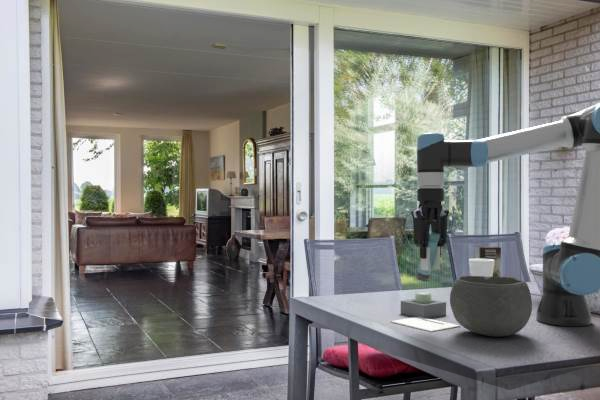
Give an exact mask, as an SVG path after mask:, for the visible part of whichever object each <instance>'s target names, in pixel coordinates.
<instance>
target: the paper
mask: <svg viewBox="0 0 600 400" xmlns="http://www.w3.org/2000/svg"><path fill="white" fill-rule="evenodd" d="M390 323H393V324H397V325H401V326H406V327H410V328H412V329H418V330H422V331H425V332H430V333H433V332H437V331H438V332H439V331H444V330H449V329H454V328H460V327H461V325H460V324H455V323H449V322H446V321H440V320H436V319H432V318H424V317H415V316H412V317H409V318H408V317H407V318H401V319H396V320H390Z"/></svg>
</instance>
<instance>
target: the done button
mask: <svg viewBox="0 0 600 400" xmlns="http://www.w3.org/2000/svg"><path fill="white" fill-rule="evenodd" d="M414 295H415V297H414V299H415V302H417V303H422V304H426V303H431V300H432V293H431V292H421V291H420V292H419V291H418V292H415V294H414Z"/></svg>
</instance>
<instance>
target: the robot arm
mask: <svg viewBox="0 0 600 400" xmlns="http://www.w3.org/2000/svg"><path fill="white" fill-rule="evenodd" d="M561 147H566V148H568V149H571V148H578V147H582V149H583V150H584V151H585V155H584V156H585V157H584V160H583V161H584V162H583V164H582V165H583V166H582V169H581V175H580V179H579V184H578V189H577V195H576V199H575V203H574V208H573V214H572V218H571V223H570V226H569V233H568V236H567V237H566V238H564V239H562V240H561V242H560V243H552V244H546V245H544V246H543V249H542V254H541V257H542V296H541V298H540V301H539V304H538V307H537V310H536V314H535V315H536V316H535V317H536V321H538V322H541V323H544V324H547V325H554V326H559V327H560V326H563V327H586V326H590V325H592V314H591V311H590V308H589V305H588V302H587V299H586V296H590V295H594V294H595V293H597V292H599V291H600V101H599V102H598V103H596V104H593V105H591V106H589V107H587V108H585V109H582V110H580V111H578V112H575V113H572V114H570V115H565V116H562V117H561V118H560V120H558V121H553V122H550V123H545V124H540V125H537V126H532V127H528V128H524V129H519V130H515V131H511V132H506V133H502V134H497V135H493V136H489V137H485V138H480V139H465V140H464V139H463V140H461V139H460V140H447V139H446V140H445V135H444V134H443V133H440V132H436V133H435V132H428V133H427V132H425V133H422V134H419V136H418V137H417V146H416V167H417V168H416V170H417V172H416V173H417V175H416V176H417V177H416V179H417V182H416V185H417V187H419V188H417V190H416V200H417V202H418V203H419V204H418V206H417V209H415V210H411V214H410V215H411V216H412V217H411V218H412V222H413V224H412V225H413V244H414V245H415V246H416V247H418V248H419V259H420V260H421V270H427V271H429V270H430V247H427V246H428V240H429V231H431V232H436V233H438V234H440V237H439V241H438V244H437V248H436V252H435V256H434V260H433V265H432V269H431V270H439V271H440V270H441V257H442V247H444V246H445V244H447V239H448V238H447V236H448V235H447V234H448V217H449V213H450V211H449V209H445V208H444V207H443V205H442V204H443V203H442V202H444V201H445V190H444V188H443V187H444V186H445V167H449V168H451V167H452V168H454V169H456V170H465V169H467V168H470V167H472V168H477V167H485V166H486V165H487V164H488V163H493V162H498V161H502V160H506V159H512V158H516V157H520V156H524V155H525V156H526V155H530V154H535V153H539V152H544V151H547V150H551V149H552V150H553V149H556V148H561ZM430 229H431V230H430Z"/></svg>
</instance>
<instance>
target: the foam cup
mask: <svg viewBox="0 0 600 400" xmlns="http://www.w3.org/2000/svg"><path fill="white" fill-rule="evenodd" d="M468 266H469V274H470V276H485V277H492V276H493V269H494V260H493V259H481V258H475V257H474V258H469V259H468Z"/></svg>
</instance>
